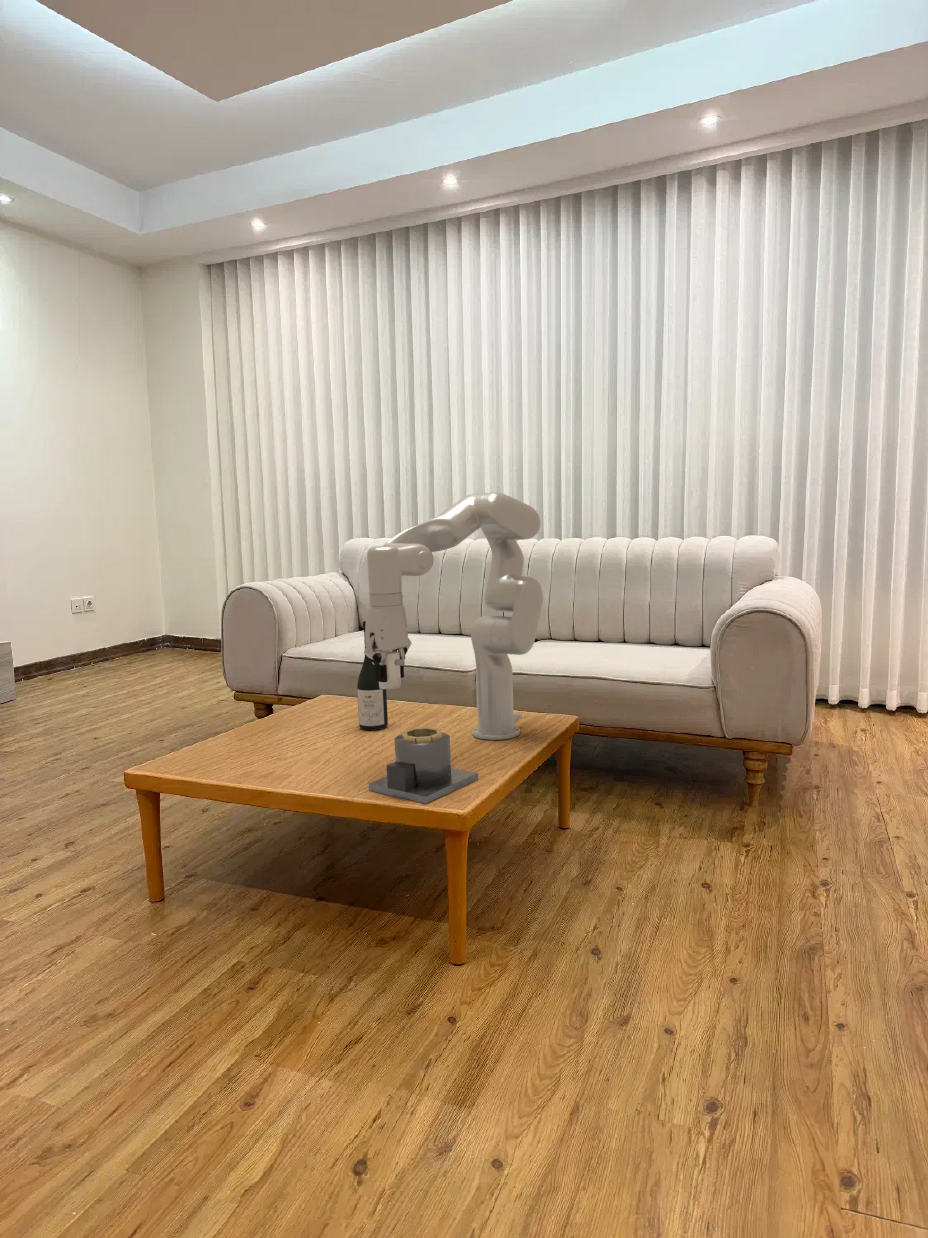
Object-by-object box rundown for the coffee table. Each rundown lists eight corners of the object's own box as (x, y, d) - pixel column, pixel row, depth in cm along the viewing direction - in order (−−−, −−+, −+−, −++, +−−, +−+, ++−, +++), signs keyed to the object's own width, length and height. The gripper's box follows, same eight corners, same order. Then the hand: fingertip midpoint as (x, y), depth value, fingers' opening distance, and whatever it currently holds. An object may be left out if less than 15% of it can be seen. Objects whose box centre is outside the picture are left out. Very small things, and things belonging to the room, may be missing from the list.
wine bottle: (383, 731, 229) (378, 622, 225) (355, 731, 230) (350, 623, 226) (391, 723, 237) (385, 618, 233) (363, 723, 238) (358, 619, 234)
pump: (389, 684, 196) (387, 650, 195) (411, 686, 192) (409, 652, 191) (374, 688, 192) (372, 653, 191) (396, 690, 188) (394, 655, 187)
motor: (422, 768, 195) (420, 719, 193) (478, 779, 185) (476, 728, 183) (369, 790, 180) (366, 737, 179) (426, 803, 171) (423, 748, 169)
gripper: (399, 596, 199) (402, 671, 201) (347, 604, 186) (351, 684, 188) (423, 597, 194) (426, 674, 197) (371, 605, 181) (375, 688, 183)
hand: (389, 678), depth 192 cm, fingers closed on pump, 5 cm apart
